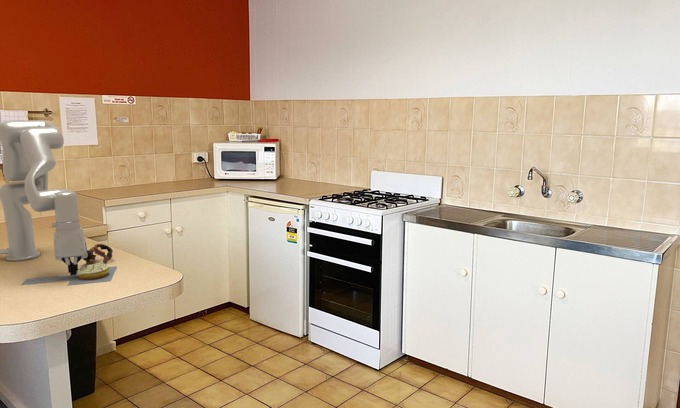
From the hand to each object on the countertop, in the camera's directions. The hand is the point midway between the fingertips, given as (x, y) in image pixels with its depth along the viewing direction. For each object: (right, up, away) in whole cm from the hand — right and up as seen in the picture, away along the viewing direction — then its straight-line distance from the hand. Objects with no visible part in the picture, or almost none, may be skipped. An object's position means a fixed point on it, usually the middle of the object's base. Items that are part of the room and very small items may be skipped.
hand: (73, 274), depth 194 cm
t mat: (-1, -1, 0) cm, 2 cm away
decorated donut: (+7, -1, +1) cm, 7 cm away
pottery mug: (0, +2, +19) cm, 19 cm away
